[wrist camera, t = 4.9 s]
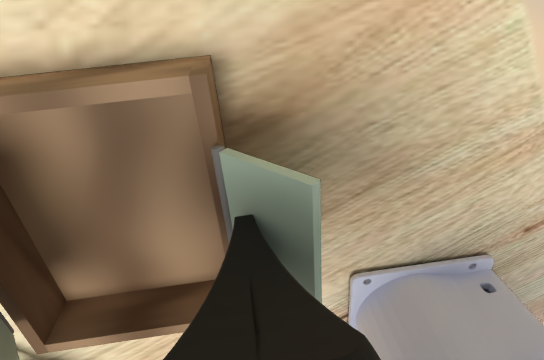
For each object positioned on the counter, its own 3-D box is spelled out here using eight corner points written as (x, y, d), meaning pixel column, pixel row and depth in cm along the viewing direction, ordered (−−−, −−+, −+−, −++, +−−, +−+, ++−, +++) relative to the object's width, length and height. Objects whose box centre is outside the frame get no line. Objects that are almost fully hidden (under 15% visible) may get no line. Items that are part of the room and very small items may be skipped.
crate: (210, 55, 14) (206, 73, 12) (246, 274, 21) (249, 322, 18) (-61, 84, 14) (-138, 111, 11) (64, 301, 20) (37, 354, 18)
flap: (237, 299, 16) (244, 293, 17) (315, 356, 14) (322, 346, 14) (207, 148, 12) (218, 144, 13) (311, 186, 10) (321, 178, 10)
